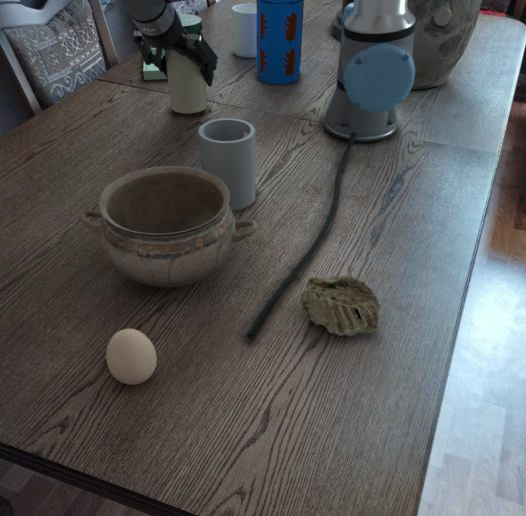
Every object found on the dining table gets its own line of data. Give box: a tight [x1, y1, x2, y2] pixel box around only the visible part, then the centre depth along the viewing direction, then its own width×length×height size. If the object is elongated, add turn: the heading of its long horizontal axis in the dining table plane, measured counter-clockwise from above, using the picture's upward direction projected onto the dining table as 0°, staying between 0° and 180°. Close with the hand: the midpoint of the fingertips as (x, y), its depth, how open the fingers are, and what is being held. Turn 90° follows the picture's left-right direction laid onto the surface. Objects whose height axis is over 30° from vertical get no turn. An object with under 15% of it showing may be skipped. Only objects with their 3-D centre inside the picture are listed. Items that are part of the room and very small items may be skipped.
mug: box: [231, 3, 257, 59], centre depth 146 cm, size 9×12×11 cm
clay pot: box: [407, 0, 483, 90], centre depth 126 cm, size 22×23×30 cm
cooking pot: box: [79, 165, 258, 288], centre depth 78 cm, size 25×19×12 cm
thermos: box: [256, 0, 305, 85], centre depth 128 cm, size 11×11×25 cm
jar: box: [164, 30, 208, 114], centre depth 116 cm, size 8×8×16 cm
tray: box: [142, 47, 168, 81], centre depth 140 cm, size 16×16×2 cm
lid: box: [178, 13, 203, 35], centre depth 111 cm, size 8×8×2 cm
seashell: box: [300, 275, 381, 337], centre depth 73 cm, size 11×7×10 cm
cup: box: [197, 117, 256, 212], centre depth 93 cm, size 9×9×12 cm
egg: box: [105, 328, 158, 386], centre depth 65 cm, size 6×6×8 cm
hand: (191, 78), depth 121 cm, fingers closed on jar, 8 cm apart
